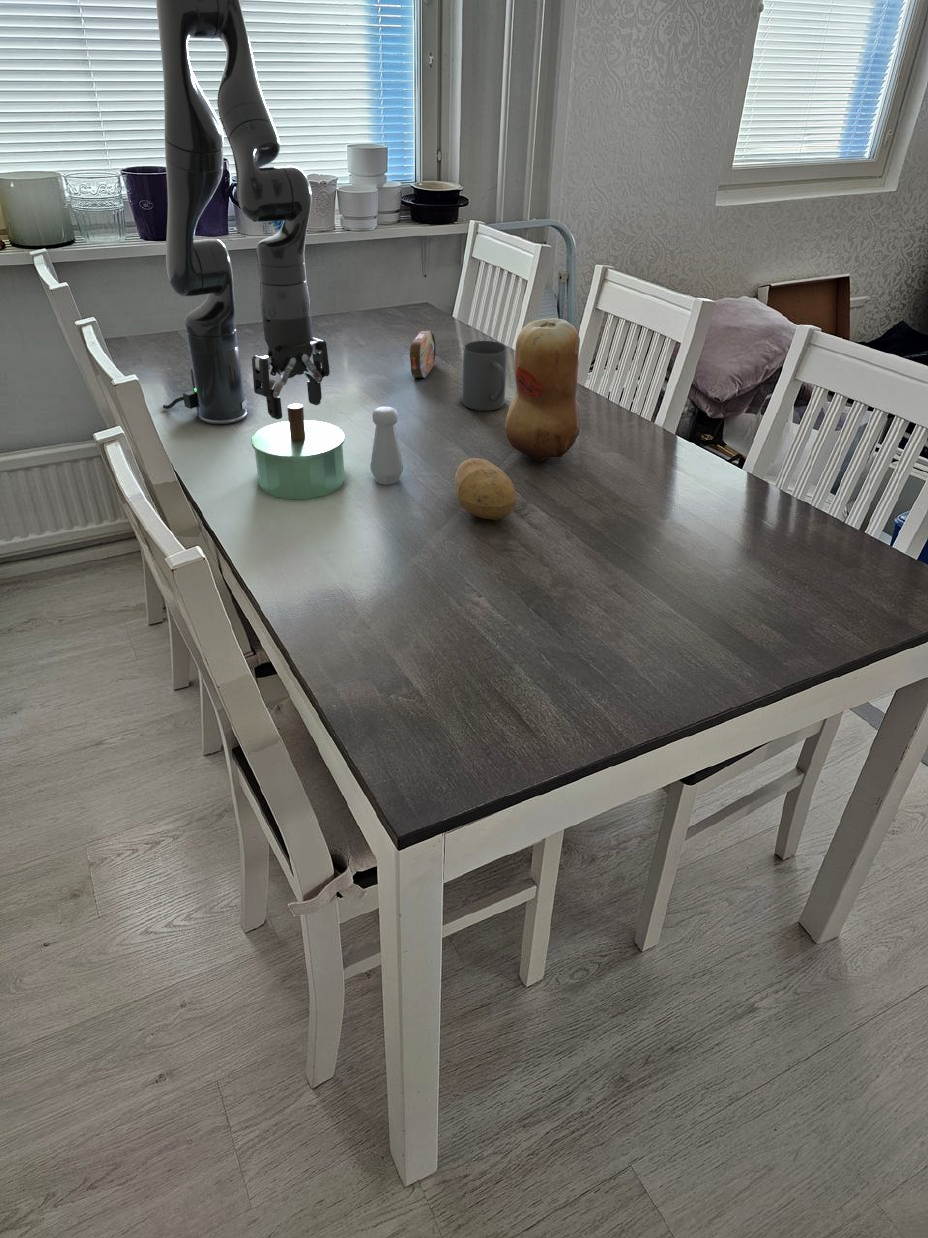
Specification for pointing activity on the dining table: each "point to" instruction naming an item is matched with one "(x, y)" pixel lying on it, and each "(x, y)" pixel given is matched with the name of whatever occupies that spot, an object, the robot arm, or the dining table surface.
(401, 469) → the salt shaker
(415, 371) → the tin
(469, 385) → the mug
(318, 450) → the pot lid
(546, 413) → the butternut squash
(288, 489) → the pot
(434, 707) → the dining table surface
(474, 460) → the potato
